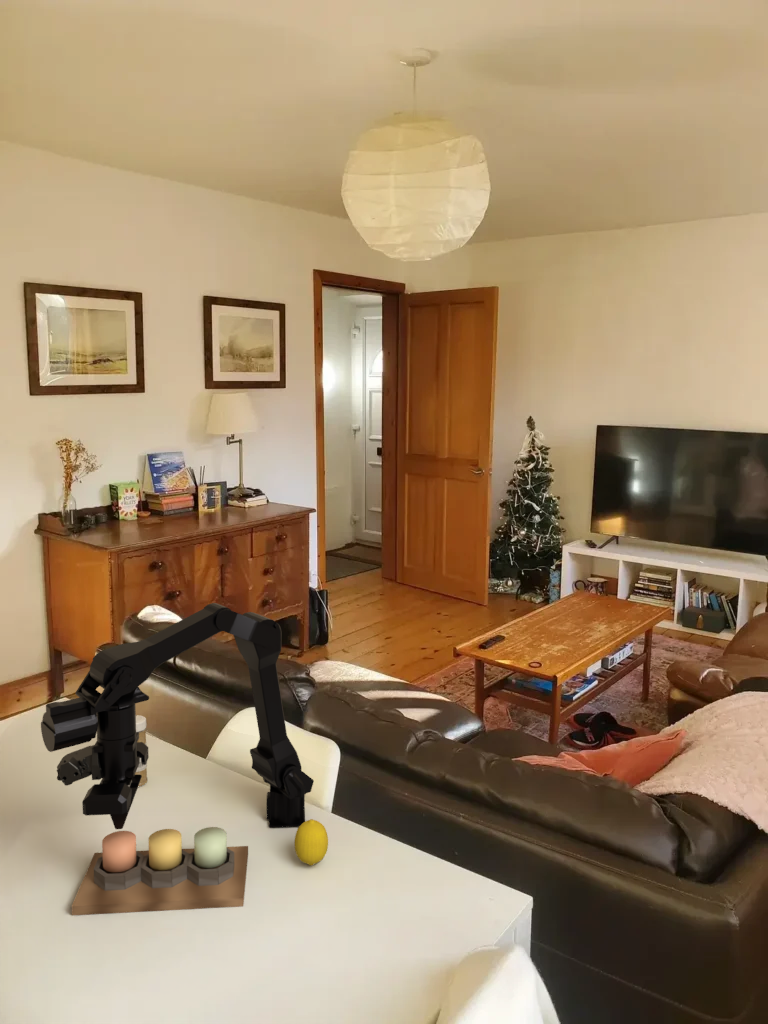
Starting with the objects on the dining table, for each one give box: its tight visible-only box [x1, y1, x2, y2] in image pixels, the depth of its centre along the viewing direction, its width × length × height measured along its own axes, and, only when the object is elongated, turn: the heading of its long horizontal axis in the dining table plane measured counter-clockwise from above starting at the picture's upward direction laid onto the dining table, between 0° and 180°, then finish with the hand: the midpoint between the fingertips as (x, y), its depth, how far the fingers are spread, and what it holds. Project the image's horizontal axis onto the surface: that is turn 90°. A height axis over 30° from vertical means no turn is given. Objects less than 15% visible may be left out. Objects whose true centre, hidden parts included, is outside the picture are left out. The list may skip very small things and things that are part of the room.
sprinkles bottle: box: [135, 714, 148, 787], centre depth 157 cm, size 5×5×13 cm
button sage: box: [193, 826, 228, 868], centre depth 125 cm, size 5×5×4 cm
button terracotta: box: [101, 830, 137, 873], centre depth 124 cm, size 5×5×4 cm
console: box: [71, 845, 249, 916], centre depth 125 cm, size 25×14×4 cm, turn 97°
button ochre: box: [148, 828, 183, 870], centre depth 125 cm, size 5×5×4 cm
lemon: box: [294, 818, 329, 867], centre depth 130 cm, size 6×6×8 cm
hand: (119, 827), depth 123 cm, fingers closed
